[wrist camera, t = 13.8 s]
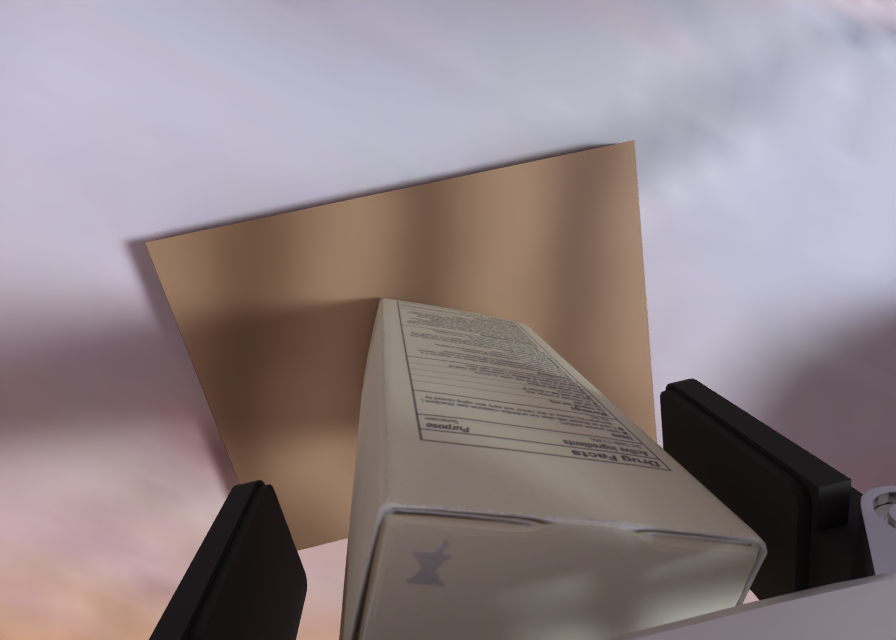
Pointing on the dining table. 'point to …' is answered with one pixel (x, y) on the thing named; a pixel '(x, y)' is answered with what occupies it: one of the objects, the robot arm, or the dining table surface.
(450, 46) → the dining table surface
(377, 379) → the skincare box
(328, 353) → the walnut board
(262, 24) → the dining table surface
